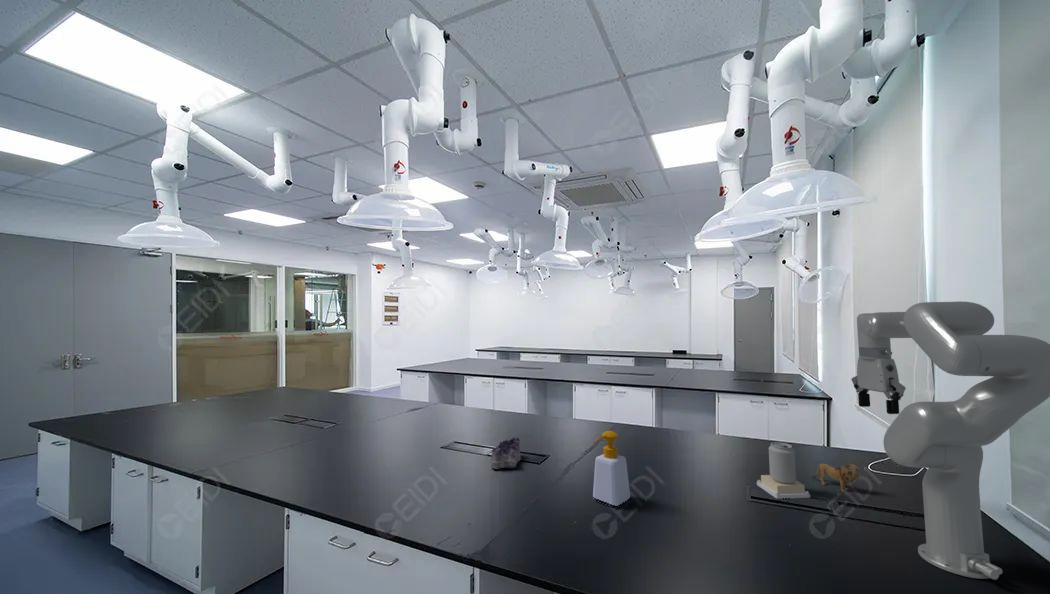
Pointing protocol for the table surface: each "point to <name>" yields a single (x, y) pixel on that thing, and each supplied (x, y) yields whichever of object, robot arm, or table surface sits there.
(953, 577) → the table surface
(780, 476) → the can
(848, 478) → the lion figurine
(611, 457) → the soap bottle
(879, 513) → the table surface
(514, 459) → the geode
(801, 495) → the tower base
